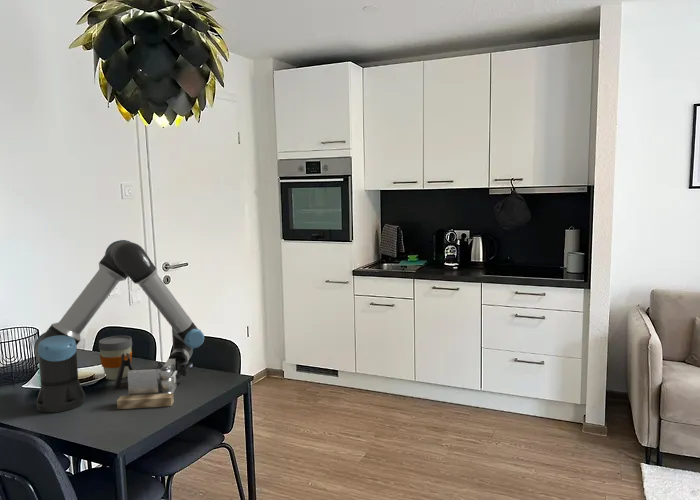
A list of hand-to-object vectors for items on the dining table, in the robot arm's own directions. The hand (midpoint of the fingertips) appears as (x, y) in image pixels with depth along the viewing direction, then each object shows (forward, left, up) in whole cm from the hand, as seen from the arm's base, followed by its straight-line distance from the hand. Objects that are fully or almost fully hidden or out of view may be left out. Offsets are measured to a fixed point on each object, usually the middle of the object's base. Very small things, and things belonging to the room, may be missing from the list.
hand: (166, 380), depth 195 cm
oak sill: (-6, -6, -6) cm, 11 cm away
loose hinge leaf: (0, +4, -6) cm, 7 cm away
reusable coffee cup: (-25, +27, -7) cm, 38 cm away
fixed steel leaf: (-5, -2, -6) cm, 9 cm away
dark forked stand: (-18, +15, -7) cm, 25 cm away
